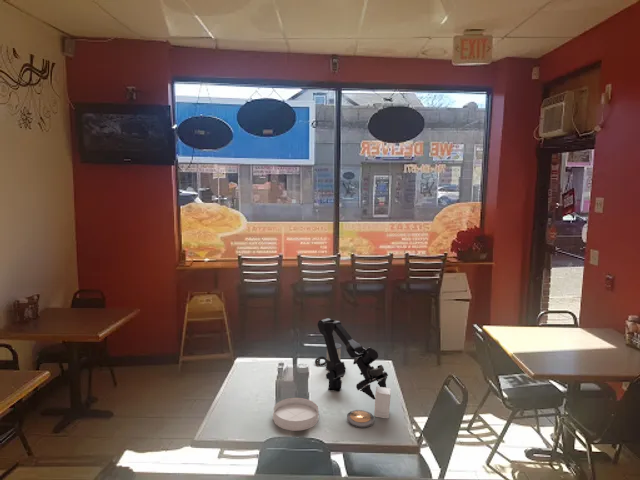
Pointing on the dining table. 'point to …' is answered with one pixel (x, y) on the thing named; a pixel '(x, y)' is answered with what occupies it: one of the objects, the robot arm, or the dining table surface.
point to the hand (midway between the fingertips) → (380, 396)
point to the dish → (295, 414)
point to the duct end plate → (360, 418)
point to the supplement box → (382, 402)
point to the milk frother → (327, 361)
